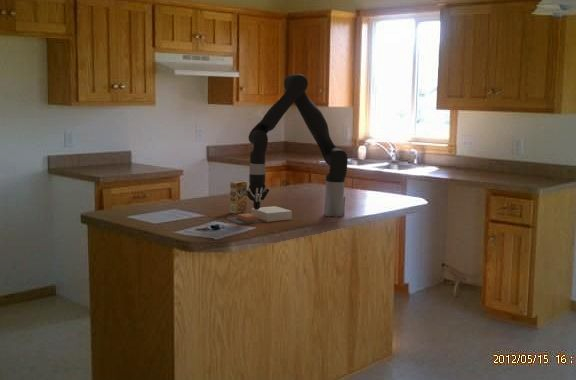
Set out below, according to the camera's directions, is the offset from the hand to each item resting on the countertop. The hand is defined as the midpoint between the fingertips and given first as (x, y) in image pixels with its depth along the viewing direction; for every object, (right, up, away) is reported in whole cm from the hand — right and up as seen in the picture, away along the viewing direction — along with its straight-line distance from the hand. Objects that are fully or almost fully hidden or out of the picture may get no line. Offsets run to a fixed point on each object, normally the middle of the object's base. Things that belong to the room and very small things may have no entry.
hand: (256, 209), depth 322 cm
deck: (+7, -4, +6) cm, 10 cm away
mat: (-5, -5, -2) cm, 8 cm away
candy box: (-10, -2, +17) cm, 20 cm away
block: (-4, -3, -2) cm, 5 cm away
